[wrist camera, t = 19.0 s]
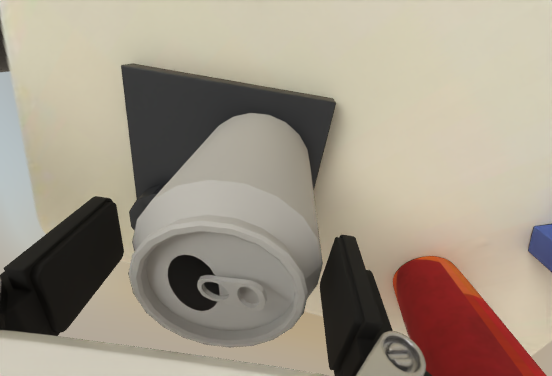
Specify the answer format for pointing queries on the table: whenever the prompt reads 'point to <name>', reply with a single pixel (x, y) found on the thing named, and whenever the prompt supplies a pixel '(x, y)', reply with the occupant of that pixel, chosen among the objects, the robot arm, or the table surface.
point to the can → (231, 237)
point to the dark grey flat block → (203, 120)
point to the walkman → (542, 245)
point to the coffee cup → (456, 323)
